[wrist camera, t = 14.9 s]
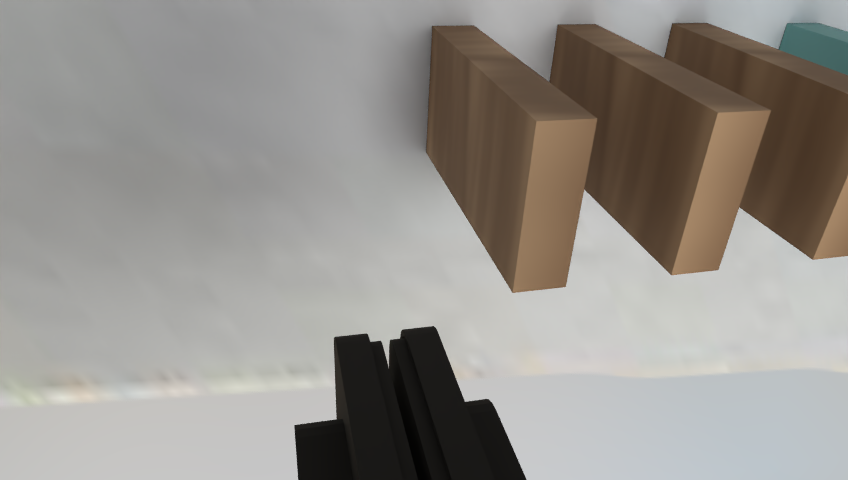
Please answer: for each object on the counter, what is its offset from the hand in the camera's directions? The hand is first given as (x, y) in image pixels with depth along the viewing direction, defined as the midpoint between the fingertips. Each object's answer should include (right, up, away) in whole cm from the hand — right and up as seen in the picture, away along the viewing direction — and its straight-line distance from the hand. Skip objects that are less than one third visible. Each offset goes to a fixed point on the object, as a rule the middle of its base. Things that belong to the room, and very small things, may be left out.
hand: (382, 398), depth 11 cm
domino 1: (+2, +8, +14) cm, 17 cm away
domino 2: (+7, +9, +15) cm, 19 cm away
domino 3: (+11, +9, +16) cm, 22 cm away
